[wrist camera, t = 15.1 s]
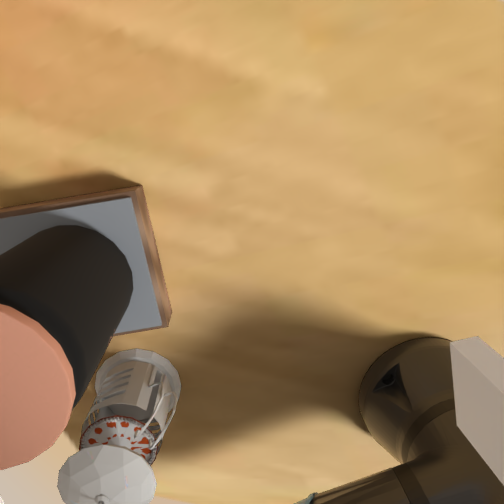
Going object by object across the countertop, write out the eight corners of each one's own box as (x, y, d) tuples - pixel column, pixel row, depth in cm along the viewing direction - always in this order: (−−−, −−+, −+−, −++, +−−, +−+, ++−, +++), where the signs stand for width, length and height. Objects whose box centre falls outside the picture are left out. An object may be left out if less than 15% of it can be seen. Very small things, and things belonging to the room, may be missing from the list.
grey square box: (172, 311, 46) (167, 329, 42) (44, 333, 46) (28, 353, 42) (142, 184, 42) (133, 191, 38) (1, 208, 41) (-22, 217, 38)
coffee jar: (39, 335, 41) (-92, 486, 24) (4, 231, 38) (-175, 320, 21) (147, 317, 42) (93, 455, 24) (121, 213, 38) (39, 287, 21)
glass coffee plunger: (76, 387, 48) (-69, 650, 24) (146, 321, 46) (64, 536, 22) (141, 436, 50) (68, 718, 27) (210, 376, 49) (197, 620, 25)
